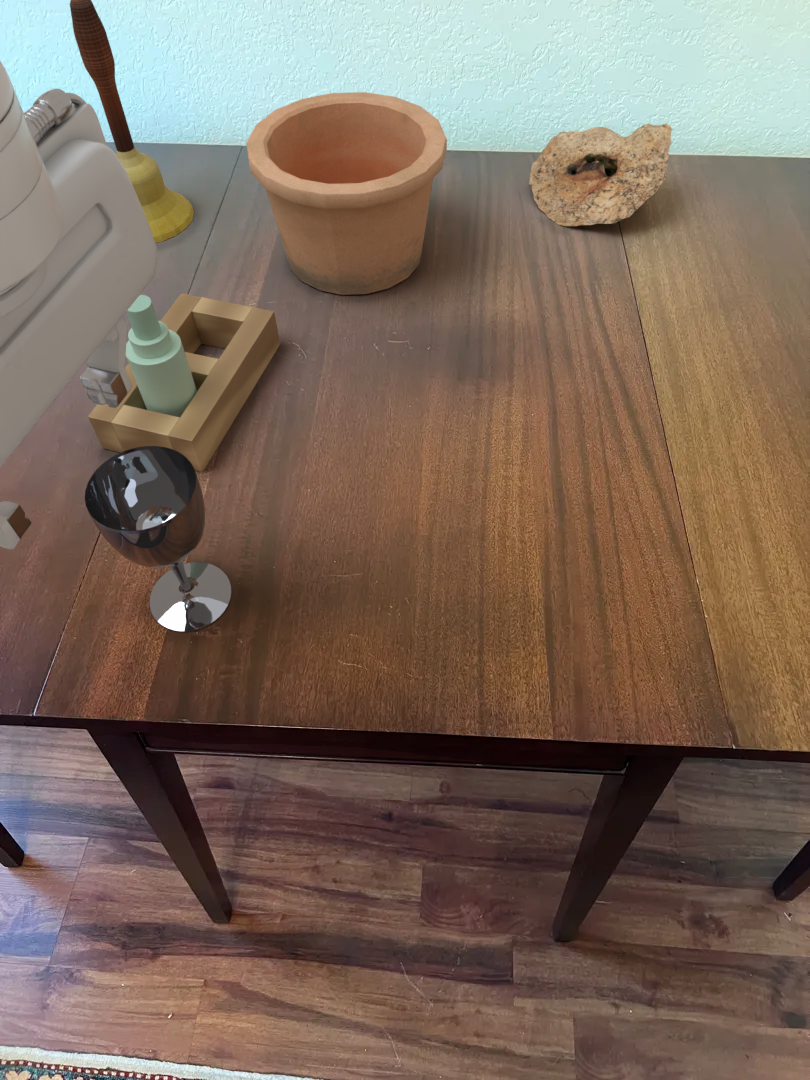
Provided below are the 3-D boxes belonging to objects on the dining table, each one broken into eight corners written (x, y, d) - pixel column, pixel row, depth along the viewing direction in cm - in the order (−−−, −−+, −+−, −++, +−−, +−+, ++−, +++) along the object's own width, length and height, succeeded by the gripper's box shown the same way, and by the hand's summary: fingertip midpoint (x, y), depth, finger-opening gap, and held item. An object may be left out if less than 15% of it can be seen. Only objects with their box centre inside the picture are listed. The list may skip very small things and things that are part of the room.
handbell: (196, 238, 99) (139, 16, 79) (97, 251, 98) (14, 29, 78) (191, 186, 106) (138, -29, 86) (99, 197, 105) (23, -19, 85)
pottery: (246, 302, 92) (221, 186, 80) (291, 198, 104) (275, 85, 93) (429, 318, 89) (430, 201, 78) (452, 210, 102) (456, 96, 90)
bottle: (145, 434, 80) (96, 315, 67) (168, 399, 82) (126, 280, 70) (190, 445, 79) (149, 327, 67) (213, 409, 81) (177, 290, 69)
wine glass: (190, 544, 71) (142, 430, 59) (255, 586, 69) (219, 475, 56) (125, 605, 68) (60, 497, 55) (191, 652, 65) (138, 549, 53)
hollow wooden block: (102, 448, 78) (87, 416, 75) (190, 325, 89) (181, 292, 86) (202, 472, 76) (192, 441, 73) (280, 344, 87) (274, 311, 84)
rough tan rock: (533, 262, 106) (515, 220, 100) (550, 182, 111) (534, 137, 105) (671, 241, 97) (661, 194, 91) (682, 155, 102) (673, 105, 96)
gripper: (12, 59, 34) (114, 319, 45) (-397, 371, 22) (-125, 613, 34) (142, 78, 33) (213, 339, 44) (-220, 416, 21) (0, 651, 33)
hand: (64, 461), depth 39 cm, fingers open, 8 cm apart
